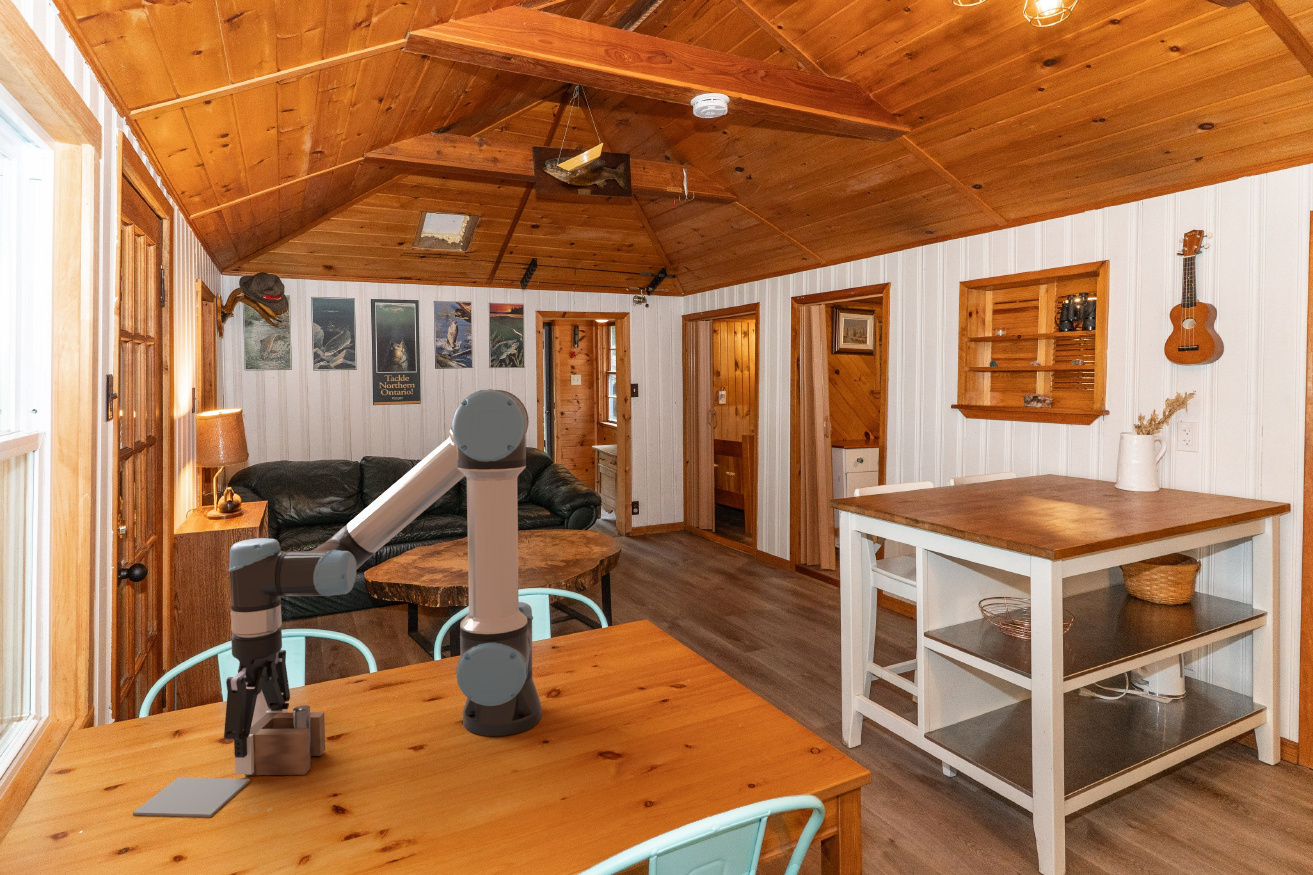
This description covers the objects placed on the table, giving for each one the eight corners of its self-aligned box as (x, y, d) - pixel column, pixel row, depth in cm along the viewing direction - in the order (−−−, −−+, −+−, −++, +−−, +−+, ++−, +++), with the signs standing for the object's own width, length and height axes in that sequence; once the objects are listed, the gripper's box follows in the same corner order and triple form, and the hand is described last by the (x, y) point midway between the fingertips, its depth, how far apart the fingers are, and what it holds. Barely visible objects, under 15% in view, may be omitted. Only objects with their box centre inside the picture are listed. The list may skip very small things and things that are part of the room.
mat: (249, 781, 119) (249, 778, 119) (210, 816, 109) (210, 814, 109) (178, 779, 119) (178, 777, 119) (132, 814, 109) (132, 812, 109)
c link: (244, 775, 120) (242, 734, 120) (268, 750, 128) (267, 712, 128) (305, 774, 121) (303, 734, 120) (325, 749, 129) (324, 712, 128)
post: (314, 761, 126) (312, 705, 125) (306, 769, 123) (305, 711, 122) (299, 760, 126) (298, 704, 125) (291, 768, 123) (290, 711, 122)
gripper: (269, 611, 134) (273, 730, 135) (193, 652, 113) (198, 792, 114) (309, 612, 133) (312, 731, 135) (241, 653, 112) (245, 793, 114)
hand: (260, 759), depth 124 cm, fingers closed on c link, 8 cm apart
